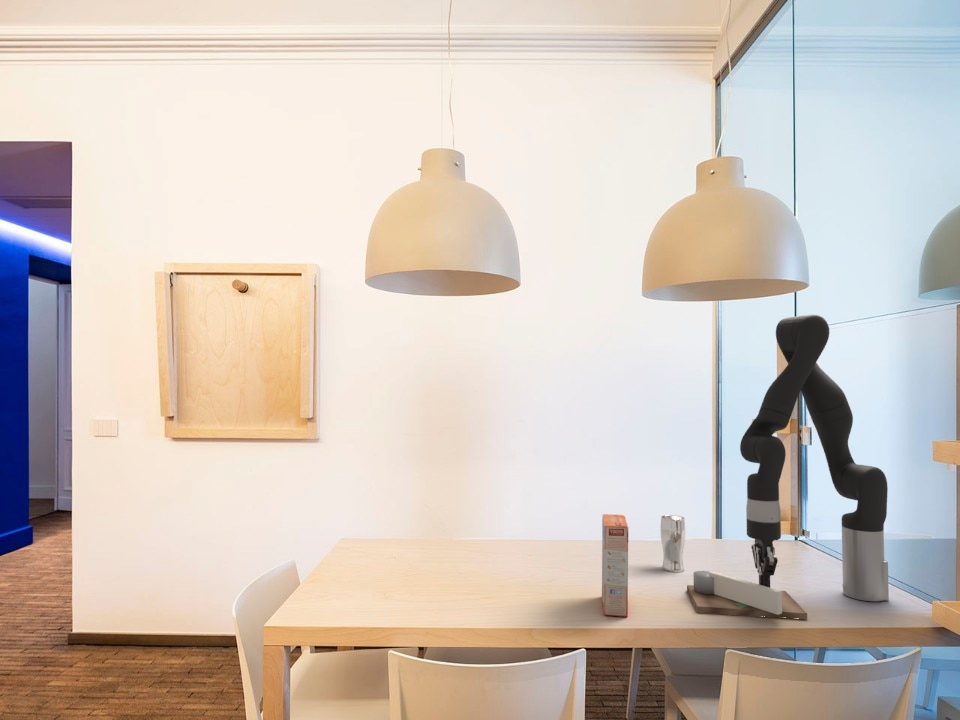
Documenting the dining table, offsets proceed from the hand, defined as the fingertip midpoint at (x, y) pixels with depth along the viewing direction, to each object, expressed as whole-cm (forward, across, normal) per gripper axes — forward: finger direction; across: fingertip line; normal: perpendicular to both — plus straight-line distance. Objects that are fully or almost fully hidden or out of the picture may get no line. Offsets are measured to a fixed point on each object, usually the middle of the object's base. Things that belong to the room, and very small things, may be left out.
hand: (764, 590), depth 150 cm
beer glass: (+5, +30, +17) cm, 35 cm away
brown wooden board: (+4, +2, +4) cm, 7 cm away
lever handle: (+3, 0, +7) cm, 7 cm away
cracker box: (+4, -5, +36) cm, 36 cm away
